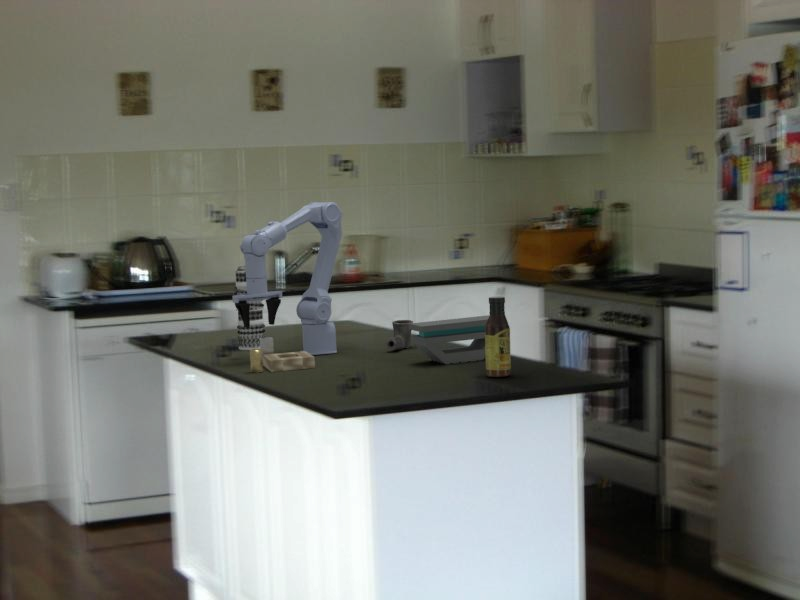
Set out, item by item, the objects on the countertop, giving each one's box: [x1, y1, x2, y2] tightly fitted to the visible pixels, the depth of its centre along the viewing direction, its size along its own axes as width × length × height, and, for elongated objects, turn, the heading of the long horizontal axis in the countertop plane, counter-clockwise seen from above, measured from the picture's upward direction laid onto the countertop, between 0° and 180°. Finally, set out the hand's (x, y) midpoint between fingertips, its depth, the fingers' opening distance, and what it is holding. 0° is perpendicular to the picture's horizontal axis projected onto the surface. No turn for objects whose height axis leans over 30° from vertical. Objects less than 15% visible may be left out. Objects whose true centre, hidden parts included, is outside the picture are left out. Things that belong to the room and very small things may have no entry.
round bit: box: [249, 349, 264, 374], centre depth 339 cm, size 3×3×6 cm
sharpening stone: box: [409, 314, 490, 365], centre depth 344 cm, size 25×8×11 cm, turn 115°
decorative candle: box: [233, 265, 267, 351], centre depth 384 cm, size 9×9×25 cm
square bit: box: [260, 336, 275, 363], centre depth 354 cm, size 3×3×7 cm
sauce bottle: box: [485, 296, 512, 378], centre depth 316 cm, size 6×6×20 cm
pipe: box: [386, 319, 414, 351], centre depth 368 cm, size 6×13×8 cm, turn 158°
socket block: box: [263, 350, 316, 373], centre depth 345 cm, size 12×12×3 cm
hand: (259, 325), depth 355 cm, fingers open, 7 cm apart
